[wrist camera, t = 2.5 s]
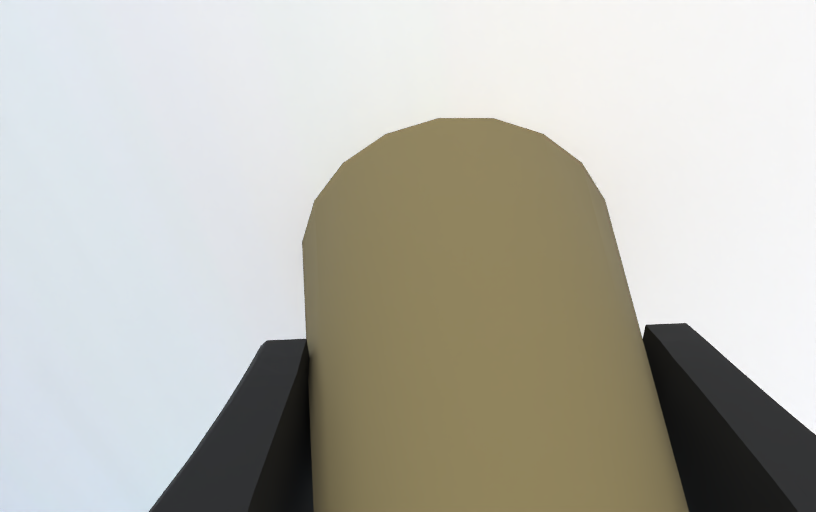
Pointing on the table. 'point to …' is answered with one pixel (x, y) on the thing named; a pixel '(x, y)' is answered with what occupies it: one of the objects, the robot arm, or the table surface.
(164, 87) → the table surface
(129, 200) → the table surface
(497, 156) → the cork
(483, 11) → the table surface
